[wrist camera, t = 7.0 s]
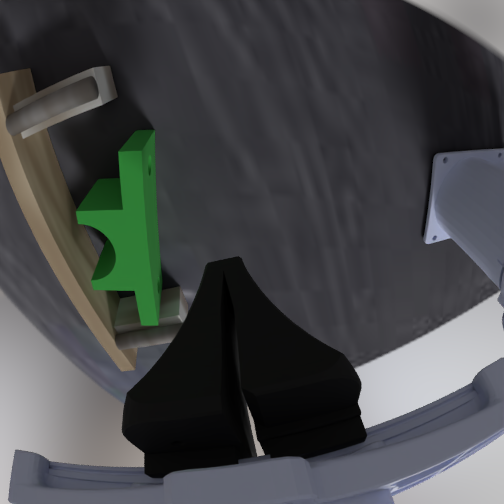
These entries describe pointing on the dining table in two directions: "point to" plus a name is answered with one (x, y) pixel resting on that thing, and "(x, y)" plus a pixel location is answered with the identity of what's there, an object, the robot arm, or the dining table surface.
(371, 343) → the dining table surface
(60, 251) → the wooden drawer handle
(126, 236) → the pipe clamp
